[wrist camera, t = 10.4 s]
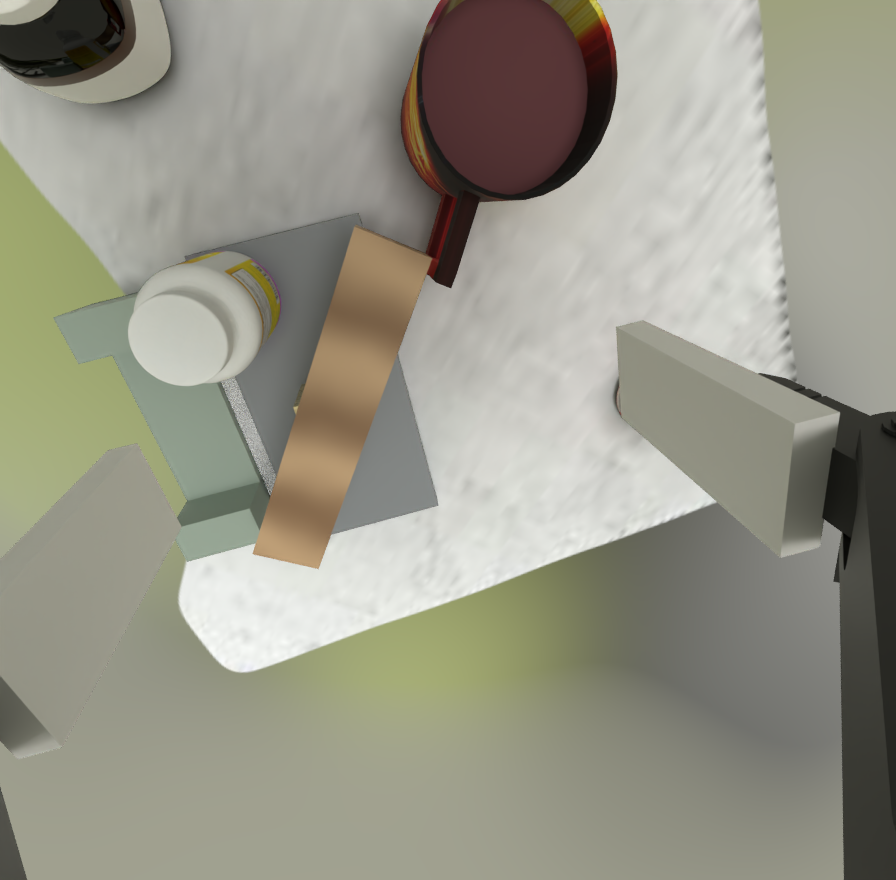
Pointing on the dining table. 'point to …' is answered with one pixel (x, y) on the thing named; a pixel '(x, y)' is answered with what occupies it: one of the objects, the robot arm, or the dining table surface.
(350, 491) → the slate board
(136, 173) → the dining table surface
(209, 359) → the supplement bottle
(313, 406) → the long wooden bar
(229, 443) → the green rack
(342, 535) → the dining table surface
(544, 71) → the mug
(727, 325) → the dining table surface
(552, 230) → the dining table surface
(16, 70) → the spread jar
